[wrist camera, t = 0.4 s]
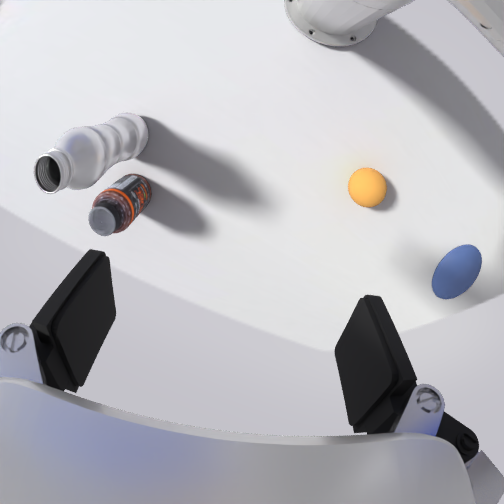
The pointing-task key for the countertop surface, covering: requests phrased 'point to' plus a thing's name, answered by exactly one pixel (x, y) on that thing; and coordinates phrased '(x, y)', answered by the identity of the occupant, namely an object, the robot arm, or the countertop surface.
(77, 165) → the plastic bottle
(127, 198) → the supplement bottle
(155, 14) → the countertop surface
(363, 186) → the ball
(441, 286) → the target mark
